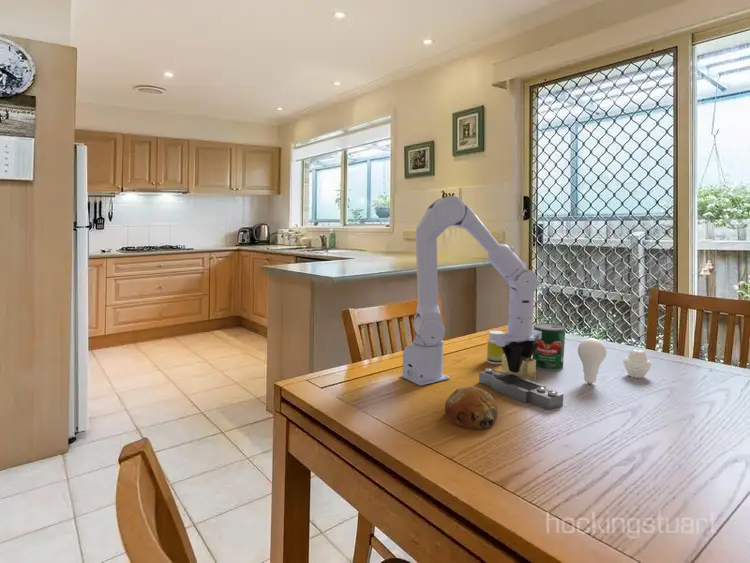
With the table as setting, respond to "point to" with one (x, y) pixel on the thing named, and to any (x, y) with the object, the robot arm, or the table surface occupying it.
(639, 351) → the muffin
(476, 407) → the bread roll
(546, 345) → the canned tomato
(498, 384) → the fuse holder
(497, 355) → the supplement bottle
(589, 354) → the lightbulb
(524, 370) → the link
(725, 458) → the table surface
